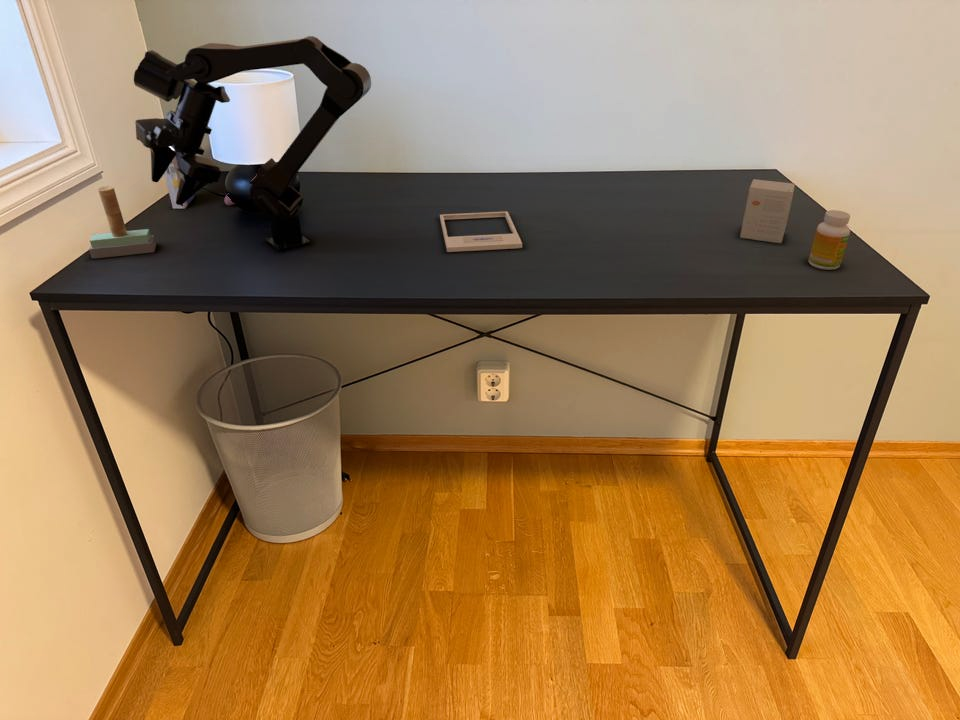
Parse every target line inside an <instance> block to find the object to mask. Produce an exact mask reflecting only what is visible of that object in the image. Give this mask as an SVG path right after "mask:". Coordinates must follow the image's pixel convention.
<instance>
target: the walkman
mask: <svg viewBox="0 0 960 720" xmlns="http://www.w3.org/2000/svg"><path fill="white" fill-rule="evenodd" d="M180 159H181V157H180V156H179V155H177V154H176V156H175V157H174V159H173V160H172V162H171V164H170V165H169V167H168V168H167V170H166V171H165V173H164V174H163V176H164V180H165V182H166V183H165V184H166V187H167V191H168V195H169V199H170V202H171V206H172V209H173V210H174V209H180V210H182V209H184V210H185V209H186V208H187V207H188V205H189V204H191V202H192V201H193V200H194V198H195V194H194V195H193V196H191V197H190V198H189V199H188V200H187V201H186V202H185V203H184V204H182V205H177V204H176V197H177V193H178V188H179V184H180V180H181V177H180V175H179V173H178V171H177V168H178V169H180V165H179V162H180Z"/></svg>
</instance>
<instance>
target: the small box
mask: <svg viewBox="0 0 960 720" xmlns="http://www.w3.org/2000/svg"><path fill="white" fill-rule="evenodd" d="M795 186H796V184H795V183H791V182H782V181H772V180H763V179H755V178H753V179H752V181H751V183H750V186H749V189H748V194H747V198H746V199H747V200H746V205H745V210H744V213H743V220H742V225H741V229H740V235H739V238H740V239H747V240H753V241H761V242H766V243H767V242H768V243H774V244H775V243H776V244H782V243H783V239H784V237H785V236H784V235H785V231H786V228H787V224H788V219H789V215H790V211H791V206H792V202H793V196H794V192H795Z"/></svg>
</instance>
